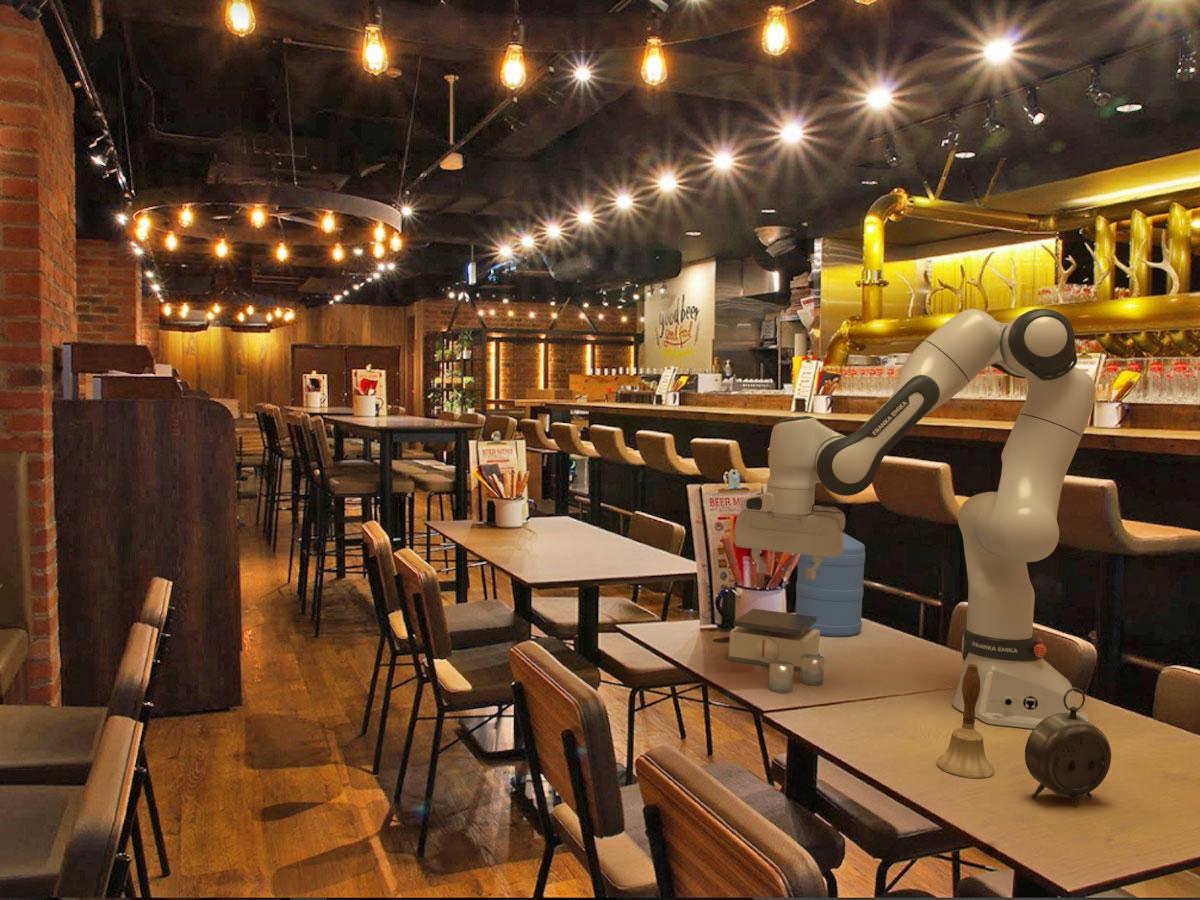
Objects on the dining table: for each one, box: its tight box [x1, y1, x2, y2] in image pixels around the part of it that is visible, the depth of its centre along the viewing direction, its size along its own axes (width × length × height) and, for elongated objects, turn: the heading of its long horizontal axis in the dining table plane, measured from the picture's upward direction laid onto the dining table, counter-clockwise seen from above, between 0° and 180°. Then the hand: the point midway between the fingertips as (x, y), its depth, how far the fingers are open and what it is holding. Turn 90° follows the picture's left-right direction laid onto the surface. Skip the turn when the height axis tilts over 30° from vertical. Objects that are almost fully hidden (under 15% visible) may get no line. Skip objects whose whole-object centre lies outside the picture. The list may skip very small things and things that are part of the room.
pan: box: [733, 608, 817, 635], centre depth 209 cm, size 14×14×2 cm
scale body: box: [726, 626, 821, 672], centre depth 209 cm, size 17×13×6 cm
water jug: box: [794, 531, 866, 638], centre depth 237 cm, size 16×16×28 cm
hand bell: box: [936, 664, 995, 779], centre depth 151 cm, size 8×8×16 cm
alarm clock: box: [1024, 687, 1112, 808], centre depth 139 cm, size 11×5×16 cm, turn 99°
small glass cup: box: [799, 654, 825, 687], centre depth 193 cm, size 4×4×5 cm
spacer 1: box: [768, 661, 794, 695], centre depth 188 cm, size 4×4×5 cm
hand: (785, 576), depth 187 cm, fingers open, 8 cm apart
